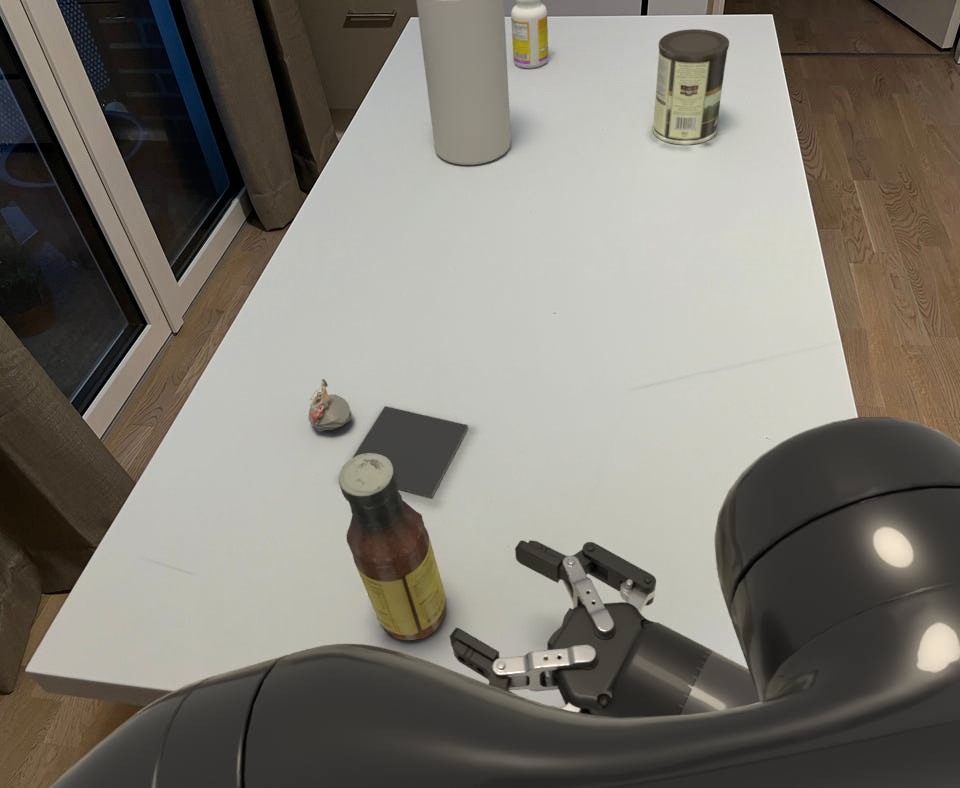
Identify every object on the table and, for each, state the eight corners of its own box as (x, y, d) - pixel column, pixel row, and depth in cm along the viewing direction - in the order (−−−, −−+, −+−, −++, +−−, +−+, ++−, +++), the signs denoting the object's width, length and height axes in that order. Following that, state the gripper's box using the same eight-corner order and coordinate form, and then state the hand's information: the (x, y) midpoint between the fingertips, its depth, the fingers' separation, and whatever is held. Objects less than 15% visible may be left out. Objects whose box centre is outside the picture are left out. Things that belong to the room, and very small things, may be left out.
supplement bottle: (544, 53, 155) (543, -17, 146) (551, 67, 150) (550, -5, 141) (511, 57, 155) (507, -13, 146) (516, 71, 150) (512, -1, 141)
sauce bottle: (436, 573, 73) (405, 426, 59) (456, 631, 69) (428, 488, 55) (367, 595, 72) (319, 452, 58) (383, 656, 68) (335, 516, 54)
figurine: (361, 419, 88) (351, 380, 84) (334, 445, 85) (322, 406, 81) (327, 401, 90) (315, 363, 86) (299, 426, 88) (286, 387, 84)
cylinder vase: (523, 154, 127) (517, -12, 110) (451, 174, 125) (432, 7, 107) (492, 123, 136) (482, -36, 118) (424, 141, 133) (403, -19, 115)
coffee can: (700, 111, 133) (711, 24, 123) (727, 138, 126) (741, 48, 116) (642, 121, 132) (648, 35, 122) (666, 150, 125) (675, 60, 115)
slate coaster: (431, 498, 79) (431, 495, 79) (343, 475, 82) (342, 472, 82) (468, 428, 86) (467, 424, 85) (385, 409, 89) (384, 405, 88)
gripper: (744, 593, 53) (535, 494, 60) (650, 784, 45) (422, 643, 52) (728, 647, 58) (537, 550, 65) (642, 827, 50) (435, 694, 57)
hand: (486, 592), depth 58 cm, fingers open, 8 cm apart
